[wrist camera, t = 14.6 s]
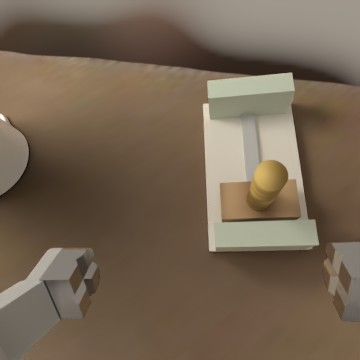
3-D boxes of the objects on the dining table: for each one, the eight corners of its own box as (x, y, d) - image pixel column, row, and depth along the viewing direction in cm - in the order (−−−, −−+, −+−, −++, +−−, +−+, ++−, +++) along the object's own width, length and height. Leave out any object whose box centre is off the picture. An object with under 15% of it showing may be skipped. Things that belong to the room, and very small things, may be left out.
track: (209, 251, 42) (207, 247, 35) (203, 110, 50) (200, 81, 42) (308, 249, 41) (328, 244, 33) (287, 103, 48) (299, 71, 40)
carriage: (221, 222, 40) (221, 201, 28) (219, 188, 42) (219, 154, 30) (295, 220, 39) (329, 197, 27) (290, 185, 41) (320, 148, 28)
